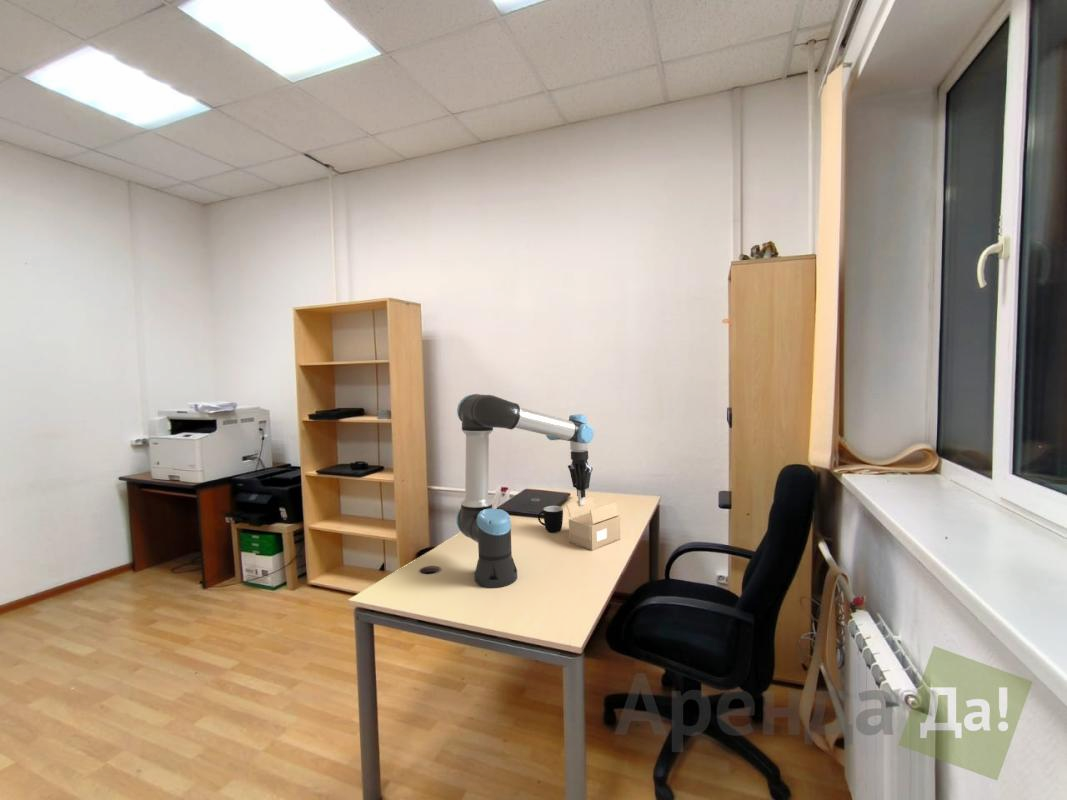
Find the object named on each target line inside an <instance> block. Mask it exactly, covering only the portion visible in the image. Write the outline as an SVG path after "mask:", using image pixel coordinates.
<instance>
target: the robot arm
mask: <svg viewBox="0 0 1067 800" xmlns="http://www.w3.org/2000/svg"><path fill="white" fill-rule="evenodd" d="M456 410H457V411H456V413H457V417H458V419H459V421H460V422H461V432H463V433H464V434H465V482H464V484H465V487H464V488H465V491H464V492H465V493H464V494H465V496H464V499H463V500H462V501H461V503H460V507H461V508H460V509H459V510H458V512H457V514H456V518H455V521H456V526H457V528H458V530H459V531H460V532H461V533H462V535H464V536H465V537H467V538H470V539H471V540H473V541H474V542H476V543H477V547H478V560H477V564H476V567H475V571H474V573H473V574H474V576H473V577H474V583H476V584H477V585H479V586H480V587H485V588H493V589H494V588H502V587H506V586H507V587H508V586H509V585H511V584H513V583H515V582H516V581H517V579H518V569H517V566H516V563H515V561H514V558H513V555H512V554H513V553H512V529H511V528H512V523H511V516H510V514H509V513H508V512H507V511H505V510H503V509H500V508H499V509H497V508H493V501H492V500H491V499H490V498H489V465H490V464H489V461H490V460H489V457H490V451H489V450H490V449H489V448H490V447H489V442H490V438H489V437H490V434H491V433H492V432H494V428H498V429H499V428H500V429H505V430H506V429H507V430H510V431H511V430H512V431H513V430H514V429H519V430H523V431H528V432H530V433H531V432H532V433H536V434H541V435H544V436H546V438H547V439H548V440H549V441H558V440H562V441H567V442H570V443H569V445H570V446H569V447H570V448H569V449H570V450H571V451H570V459H571V460H572V461H571V464H569V465H567V468H568V470H569V473H570V478H571V482H572V483H571V484H572V487H573V488H575V489H576V496H577V501H578V503H579V505H584V504H585V499H586V490H588V489H590V483H591V482H590V481H591V475H592V472H593V467H592V466H591V467H590V466H589V463H588V460H589V451H588V449H589V448H588V447H589V443H591V442H592V440H593V439H594V436H595V435H594V433H595V432H594V431H595V430H594V429H593V427H592V426H591V425H590V424H588V422H587V421H588V420H587V415H585V414H580V413H579V414H570V415H569V417H568V419H565V418H561V417H556V416H552V415H550V414H545V413H543V412H538V411H534V410H531V409H527V408H524V407H521V406H520V404H518V403H517V402H513V401H509V400H507V399H504V398H502V397H498V396H495V395H494V394H493V395H492V394H480V393H479V394H478V393H475V394H474V393H473V394H469V395H465V396H464V397H463V398H462V399H461V400H460V401H459V403H458V405H457V409H456Z"/></svg>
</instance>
